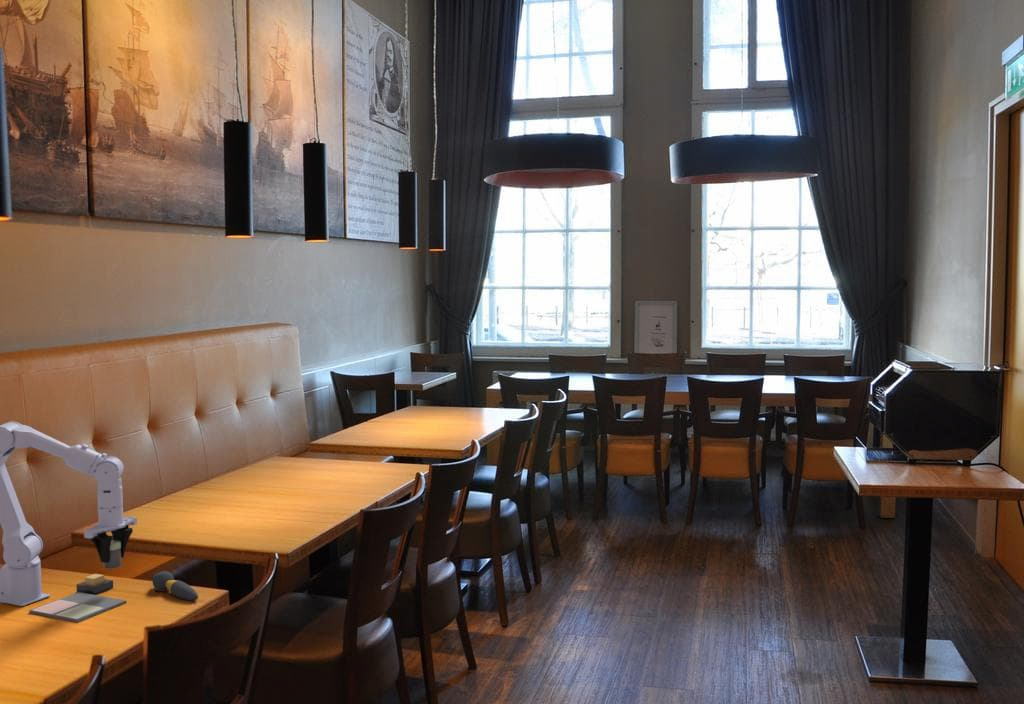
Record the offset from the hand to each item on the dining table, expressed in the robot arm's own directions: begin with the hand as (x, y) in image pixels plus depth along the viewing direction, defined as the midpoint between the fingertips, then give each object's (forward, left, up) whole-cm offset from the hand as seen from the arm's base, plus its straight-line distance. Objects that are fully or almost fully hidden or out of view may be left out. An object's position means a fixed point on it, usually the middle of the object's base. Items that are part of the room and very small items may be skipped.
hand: (112, 559), depth 224 cm
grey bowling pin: (+14, +7, -9) cm, 18 cm away
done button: (-7, +1, -7) cm, 10 cm away
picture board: (0, -10, -9) cm, 14 cm away
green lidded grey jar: (0, 0, -2) cm, 2 cm away
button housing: (-7, +1, -9) cm, 11 cm away
